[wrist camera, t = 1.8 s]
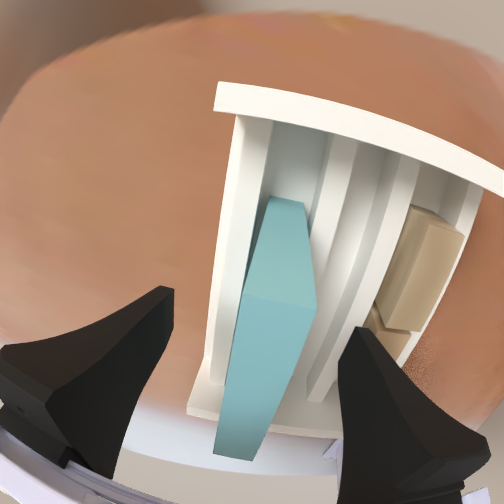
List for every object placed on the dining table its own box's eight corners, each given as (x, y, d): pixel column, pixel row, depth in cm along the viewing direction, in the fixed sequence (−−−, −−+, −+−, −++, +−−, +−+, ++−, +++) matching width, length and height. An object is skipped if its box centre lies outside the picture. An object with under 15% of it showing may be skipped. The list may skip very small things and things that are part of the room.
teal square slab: (303, 202, 14) (317, 309, 6) (270, 332, 17) (252, 461, 9) (270, 195, 14) (242, 293, 6) (243, 326, 17) (212, 453, 9)
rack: (462, 159, 12) (518, 179, 8) (363, 385, 19) (372, 439, 15) (242, 95, 13) (218, 81, 8) (205, 359, 20) (186, 413, 15)
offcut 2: (432, 210, 13) (465, 236, 10) (400, 293, 15) (419, 332, 12) (400, 200, 13) (429, 224, 10) (369, 287, 15) (385, 327, 12)
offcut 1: (396, 302, 15) (411, 335, 13) (364, 362, 17) (371, 397, 15) (365, 296, 15) (377, 330, 13) (336, 359, 17) (341, 394, 15)
